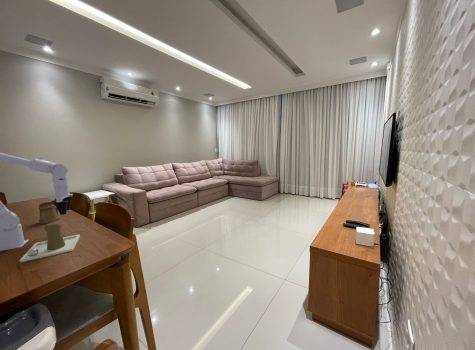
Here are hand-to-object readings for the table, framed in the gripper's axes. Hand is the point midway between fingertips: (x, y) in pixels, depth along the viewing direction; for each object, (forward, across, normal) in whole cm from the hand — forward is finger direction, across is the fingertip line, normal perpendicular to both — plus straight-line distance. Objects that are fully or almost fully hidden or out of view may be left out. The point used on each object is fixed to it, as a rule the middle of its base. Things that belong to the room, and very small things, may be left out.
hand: (65, 212), depth 104 cm
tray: (+10, -21, +1) cm, 23 cm away
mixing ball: (+10, -26, +6) cm, 28 cm away
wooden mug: (+11, +27, +12) cm, 31 cm away
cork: (+10, -21, 0) cm, 23 cm away
